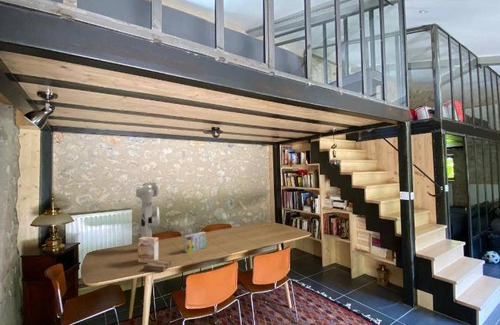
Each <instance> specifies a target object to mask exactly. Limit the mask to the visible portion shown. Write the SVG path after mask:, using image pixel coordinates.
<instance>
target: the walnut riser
mask: <svg viewBox="0 0 500 325" xmlns="http://www.w3.org/2000/svg"><path fill="white" fill-rule="evenodd" d="M171 266H172V261H171V260H160V259H158V260H152V261H150V262H149V263H146V264H144V265H143V271H144V272H154V273H155V272H156V273H157V272H158V273H164V272H165V271H167V269H168V268H169V269H170V267H171Z"/></svg>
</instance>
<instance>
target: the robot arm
mask: <svg viewBox="0 0 500 325" xmlns="http://www.w3.org/2000/svg"><path fill="white" fill-rule="evenodd" d="M158 195H159V184H158V183H157V182H155V181H154V182H153V181H152V182H145V183H143V184H142V185H141V186H139V187H137V189H136V191H135V196H136V197H137V198H138V199H139V198H140V201H141V207H140V216H139V219H140V220H139V223H140V236H141V237H153V231H152V229H151V227H157V226H159V225H160V222H161V220H160V219H161V218H160V216H161V215H160V208H159V207H160V206H158V205H152V200H153V199H152V197H153V198H154V197H155V198H156V197H158ZM141 237H140V238H141Z"/></svg>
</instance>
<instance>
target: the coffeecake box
mask: <svg viewBox="0 0 500 325" xmlns="http://www.w3.org/2000/svg"><path fill="white" fill-rule="evenodd" d="M152 260H159V237H153V236H152V237H139V238H138V239H137V262H138V263H144V264H145V263H146V264H147V263H149V262H150V261H152Z"/></svg>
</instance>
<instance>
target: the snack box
mask: <svg viewBox="0 0 500 325" xmlns="http://www.w3.org/2000/svg"><path fill="white" fill-rule="evenodd" d="M183 239H184V242H183V244H184V247H183V248H184V252H185V253H187V254H188V253H192V252H195V251H198V250H202V249H205V248H207V232H206V231H200V232H195V233H191V234H188V235H184V236H183Z"/></svg>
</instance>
